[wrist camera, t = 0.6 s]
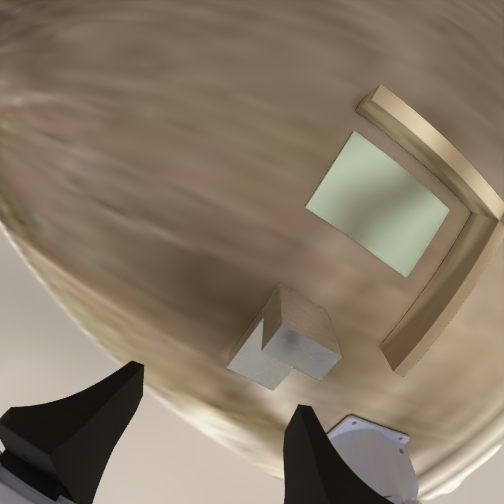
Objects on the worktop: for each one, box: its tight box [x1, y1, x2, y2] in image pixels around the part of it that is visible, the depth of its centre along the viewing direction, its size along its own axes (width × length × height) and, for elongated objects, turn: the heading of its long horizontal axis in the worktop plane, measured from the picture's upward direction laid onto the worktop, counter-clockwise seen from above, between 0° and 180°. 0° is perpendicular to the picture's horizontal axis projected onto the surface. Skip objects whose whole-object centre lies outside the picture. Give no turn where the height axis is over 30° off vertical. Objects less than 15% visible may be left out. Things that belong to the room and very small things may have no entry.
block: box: [227, 283, 342, 390], centre depth 19 cm, size 7×4×6 cm, turn 149°
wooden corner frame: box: [305, 85, 504, 377], centre depth 18 cm, size 13×14×4 cm
